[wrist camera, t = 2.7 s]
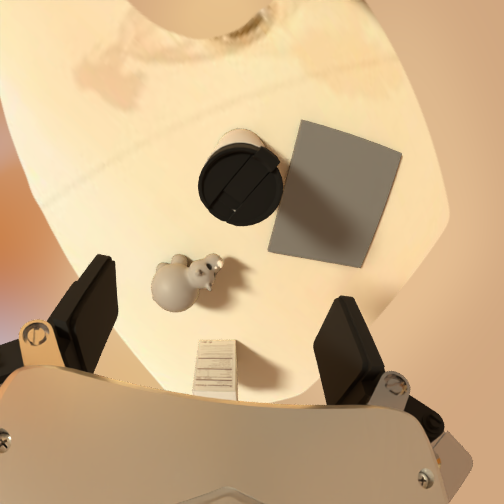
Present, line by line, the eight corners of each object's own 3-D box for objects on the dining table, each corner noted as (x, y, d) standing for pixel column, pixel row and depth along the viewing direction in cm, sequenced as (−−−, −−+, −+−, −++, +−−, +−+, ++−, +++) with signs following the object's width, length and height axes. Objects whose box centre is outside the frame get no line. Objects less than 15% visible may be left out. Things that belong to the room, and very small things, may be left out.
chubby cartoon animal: (236, 266, 46) (236, 299, 39) (175, 294, 48) (165, 328, 41) (213, 229, 43) (208, 257, 36) (150, 262, 45) (135, 293, 38)
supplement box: (238, 363, 57) (238, 414, 46) (202, 362, 57) (197, 413, 46) (236, 338, 54) (237, 392, 43) (198, 338, 53) (191, 391, 42)
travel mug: (274, 145, 38) (306, 181, 20) (243, 181, 40) (246, 247, 22) (238, 117, 36) (236, 124, 18) (207, 154, 38) (178, 199, 20)
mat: (301, 119, 36) (302, 119, 35) (399, 152, 38) (401, 153, 37) (267, 249, 45) (268, 251, 44) (358, 265, 47) (360, 267, 46)
